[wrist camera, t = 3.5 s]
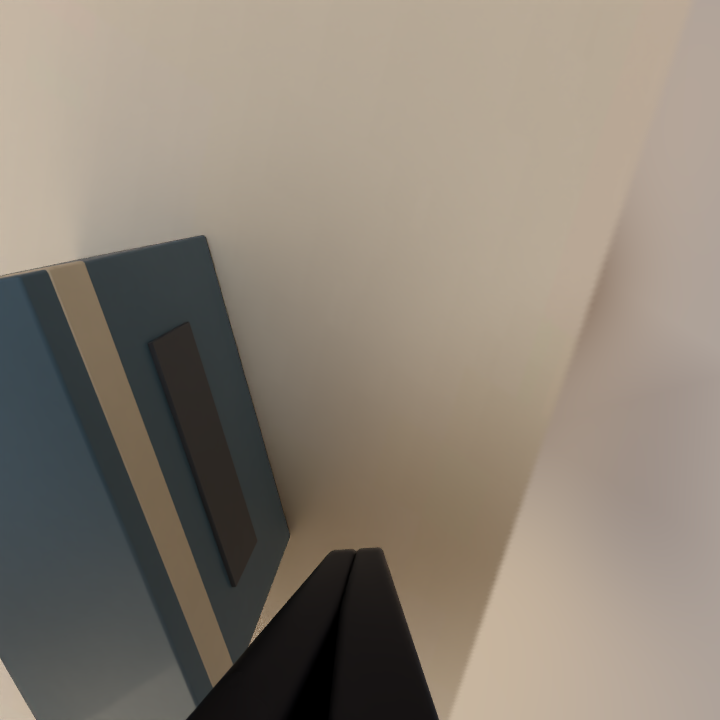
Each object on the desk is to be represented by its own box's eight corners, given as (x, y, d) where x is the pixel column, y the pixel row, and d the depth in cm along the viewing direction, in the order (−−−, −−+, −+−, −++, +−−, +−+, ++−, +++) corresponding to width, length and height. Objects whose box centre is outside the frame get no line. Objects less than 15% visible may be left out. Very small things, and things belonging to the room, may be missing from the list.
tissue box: (73, 259, 15) (-202, 316, 8) (209, 233, 14) (24, 272, 7) (180, 544, 18) (46, 742, 12) (294, 536, 17) (218, 743, 11)
